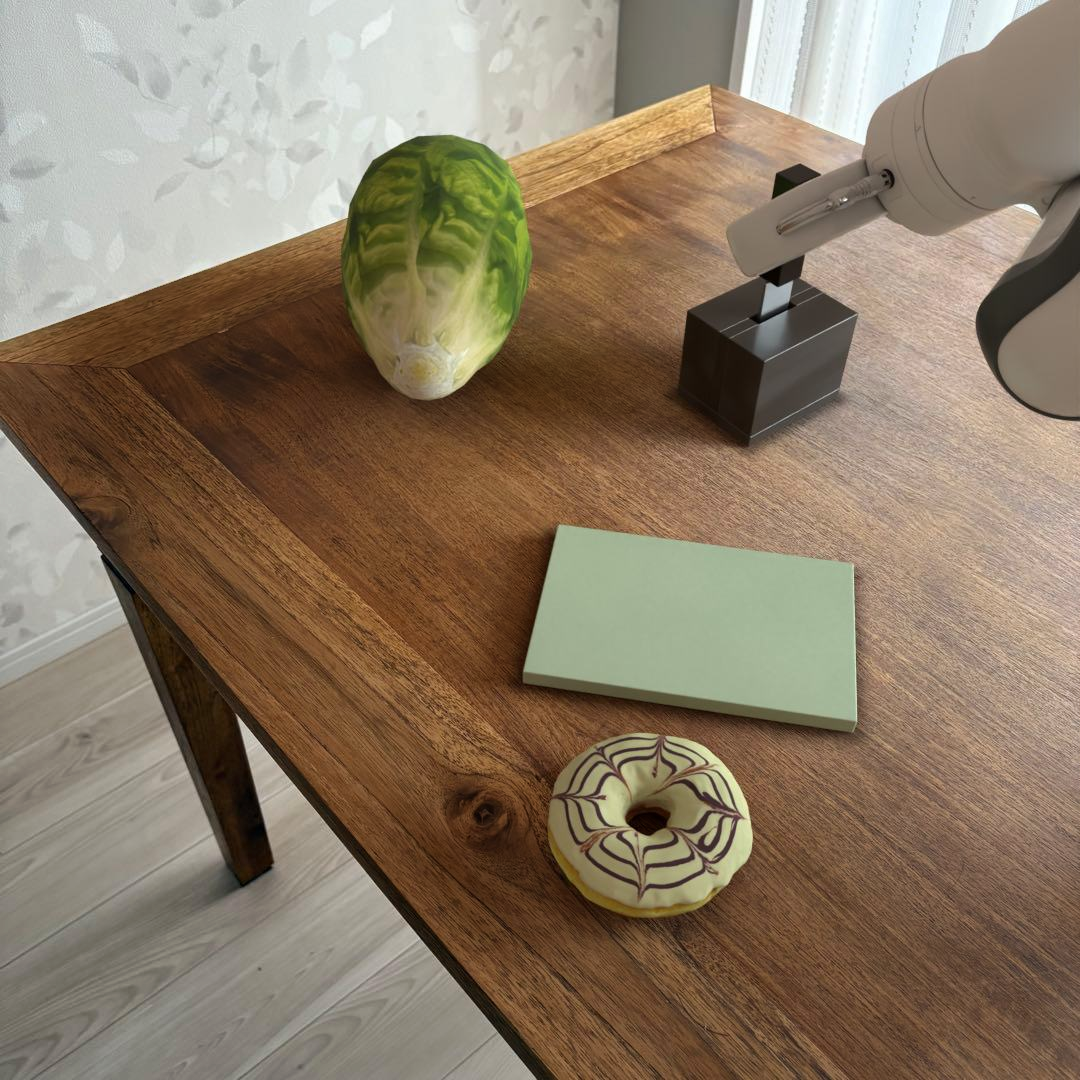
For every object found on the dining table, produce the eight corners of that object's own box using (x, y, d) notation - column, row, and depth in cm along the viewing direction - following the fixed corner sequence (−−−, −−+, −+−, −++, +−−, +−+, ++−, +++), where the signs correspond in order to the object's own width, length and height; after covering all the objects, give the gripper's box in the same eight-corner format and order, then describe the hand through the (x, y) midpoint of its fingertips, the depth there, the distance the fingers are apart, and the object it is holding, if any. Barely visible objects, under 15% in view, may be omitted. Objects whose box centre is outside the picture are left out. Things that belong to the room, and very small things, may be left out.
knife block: (837, 398, 88) (859, 313, 83) (748, 447, 84) (764, 361, 78) (765, 350, 93) (780, 266, 87) (676, 395, 88) (686, 309, 83)
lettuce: (329, 456, 83) (298, 276, 72) (370, 264, 102) (351, 97, 90) (529, 458, 83) (529, 278, 72) (533, 265, 102) (534, 99, 90)
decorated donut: (784, 859, 60) (797, 823, 57) (631, 973, 56) (636, 940, 53) (660, 728, 66) (665, 690, 63) (512, 822, 62) (511, 785, 59)
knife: (781, 385, 88) (825, 172, 75) (754, 400, 86) (794, 185, 74) (763, 373, 89) (803, 161, 76) (736, 387, 88) (772, 173, 75)
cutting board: (849, 575, 75) (853, 562, 74) (853, 733, 66) (857, 721, 65) (557, 535, 77) (558, 523, 76) (522, 683, 68) (522, 671, 67)
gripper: (842, 261, 61) (699, 326, 73) (1061, 156, 70) (900, 230, 82) (797, 153, 60) (660, 237, 73) (1024, 61, 69) (868, 150, 82)
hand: (789, 233), depth 78 cm, fingers open, 8 cm apart
